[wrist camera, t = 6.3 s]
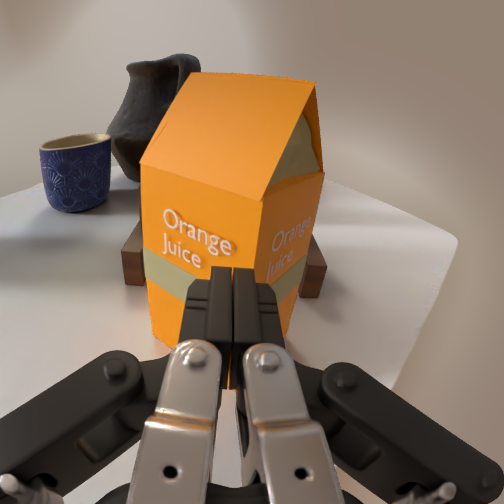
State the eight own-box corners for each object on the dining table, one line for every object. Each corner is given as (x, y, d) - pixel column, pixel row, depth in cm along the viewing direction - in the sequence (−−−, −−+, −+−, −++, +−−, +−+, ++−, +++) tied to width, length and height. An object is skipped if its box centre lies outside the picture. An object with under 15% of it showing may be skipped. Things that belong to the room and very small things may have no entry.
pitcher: (172, 160, 72) (180, 62, 59) (230, 184, 60) (244, 59, 47) (95, 174, 58) (97, 61, 46) (135, 205, 46) (141, 48, 33)
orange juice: (209, 293, 30) (226, 76, 20) (287, 335, 26) (341, 90, 16) (150, 335, 24) (141, 70, 14) (234, 394, 20) (280, 71, 10)
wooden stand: (318, 298, 31) (337, 229, 27) (125, 284, 29) (116, 212, 25) (302, 253, 39) (314, 195, 35) (145, 241, 37) (143, 181, 33)
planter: (44, 199, 45) (38, 141, 40) (104, 186, 53) (102, 130, 47) (48, 225, 37) (39, 153, 32) (121, 207, 45) (119, 140, 39)
